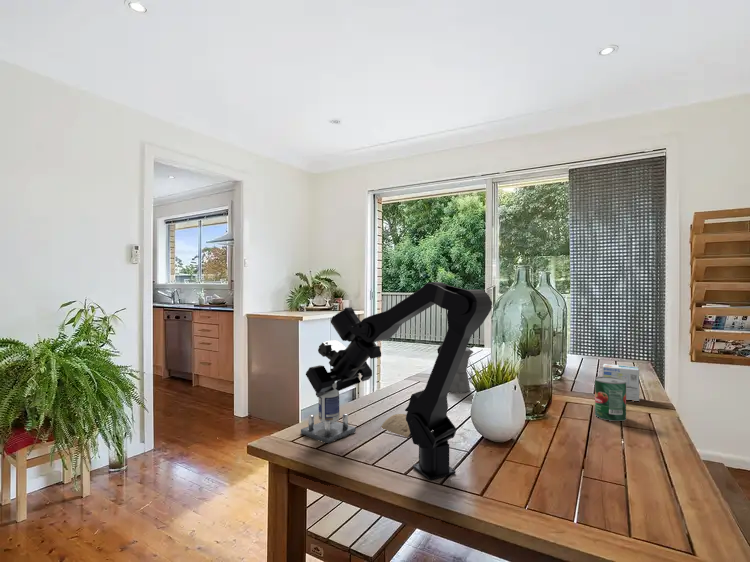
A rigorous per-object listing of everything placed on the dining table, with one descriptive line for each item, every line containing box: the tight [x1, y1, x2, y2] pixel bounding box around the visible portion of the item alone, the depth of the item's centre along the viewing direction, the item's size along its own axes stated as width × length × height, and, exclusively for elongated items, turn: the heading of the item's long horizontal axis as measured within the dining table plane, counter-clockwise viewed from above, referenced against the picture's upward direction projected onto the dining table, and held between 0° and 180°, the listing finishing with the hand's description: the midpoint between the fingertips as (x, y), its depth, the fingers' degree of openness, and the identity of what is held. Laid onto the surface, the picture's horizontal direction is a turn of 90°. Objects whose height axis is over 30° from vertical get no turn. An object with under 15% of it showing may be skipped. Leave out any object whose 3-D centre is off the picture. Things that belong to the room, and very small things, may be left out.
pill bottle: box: [317, 381, 340, 423], centre depth 104 cm, size 5×5×10 cm
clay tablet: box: [380, 413, 411, 438], centre depth 110 cm, size 14×10×3 cm
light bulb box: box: [602, 363, 641, 402], centre depth 137 cm, size 11×7×11 cm, turn 58°
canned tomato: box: [594, 376, 627, 422], centre depth 117 cm, size 8×8×11 cm
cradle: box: [300, 413, 357, 444], centre depth 104 cm, size 10×10×5 cm
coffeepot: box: [436, 344, 474, 394], centre depth 148 cm, size 15×9×18 cm, turn 44°
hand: (325, 393), depth 105 cm, fingers closed on pill bottle, 5 cm apart
